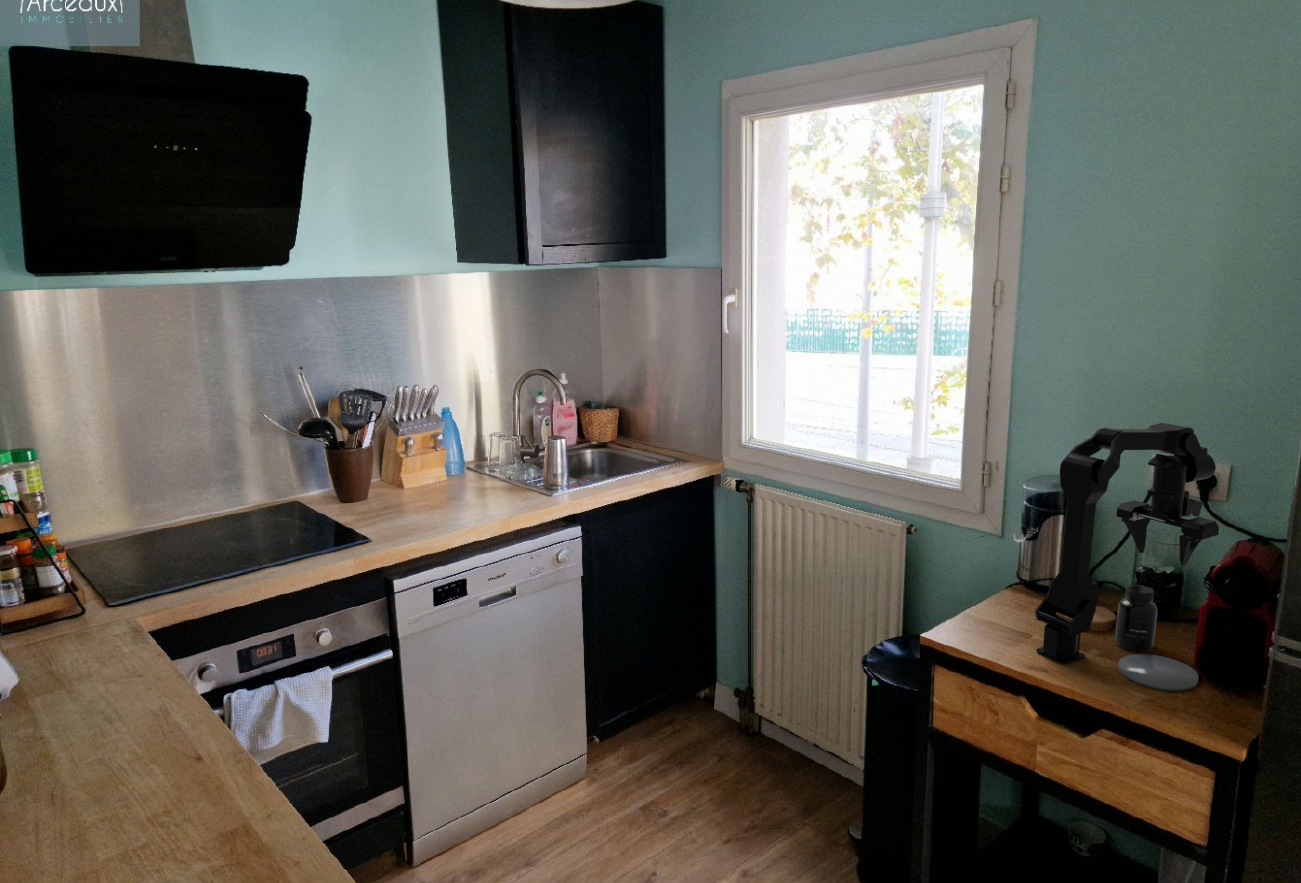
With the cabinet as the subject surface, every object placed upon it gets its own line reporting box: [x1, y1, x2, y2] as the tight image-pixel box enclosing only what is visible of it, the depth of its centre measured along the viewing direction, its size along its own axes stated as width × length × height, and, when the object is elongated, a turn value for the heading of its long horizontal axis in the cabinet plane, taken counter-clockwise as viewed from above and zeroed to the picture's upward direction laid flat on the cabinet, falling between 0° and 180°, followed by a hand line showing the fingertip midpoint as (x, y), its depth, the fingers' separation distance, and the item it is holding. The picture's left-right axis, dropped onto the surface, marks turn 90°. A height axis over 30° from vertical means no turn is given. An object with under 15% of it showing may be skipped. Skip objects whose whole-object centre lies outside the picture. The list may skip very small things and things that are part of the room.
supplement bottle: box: [1114, 584, 1158, 653], centre depth 177 cm, size 7×7×12 cm
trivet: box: [1117, 653, 1199, 692], centre depth 166 cm, size 13×13×1 cm
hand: (1162, 558), depth 184 cm, fingers open, 9 cm apart
